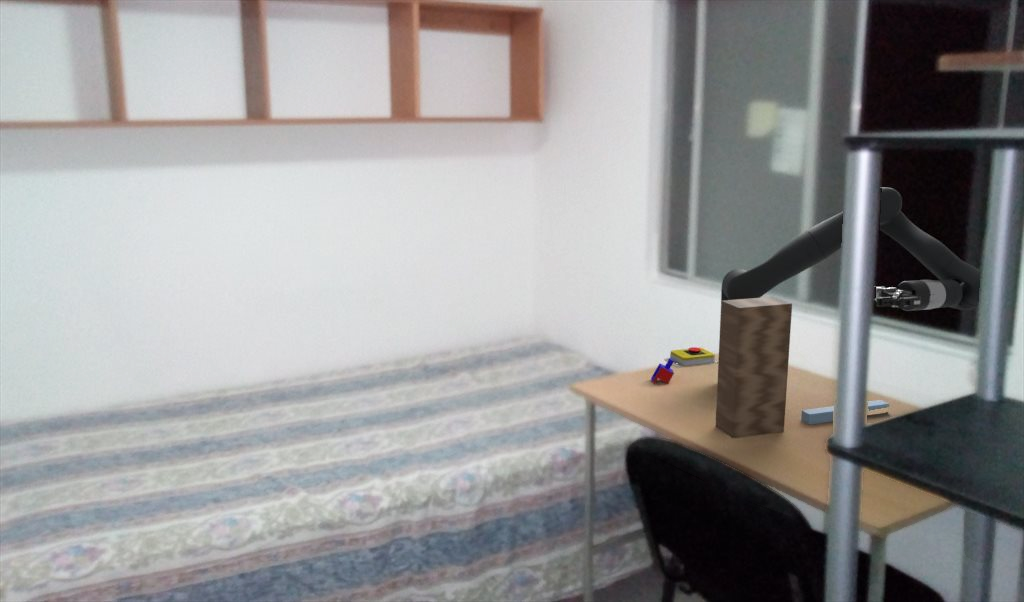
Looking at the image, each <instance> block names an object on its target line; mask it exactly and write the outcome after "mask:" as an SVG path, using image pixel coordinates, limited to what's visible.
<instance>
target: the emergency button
mask: <svg viewBox="0 0 1024 602" xmlns="http://www.w3.org/2000/svg"><path fill="white" fill-rule="evenodd" d="M669 355H670V356H669V357H668V358H663V360H664V361H665V362H666V363H667V362H668V360H669V358H670V359H672V360H674V362H673V365H672V366H674V367H676V368H684V366H687V367H693V365H695V366H702V365H701V364H704V365H712V364H718V363H717V362H718V361H719V360H716V354H715V353H713V352H711V351H709V350H707V349H705V348H704V347H695V346H694V347H693V346H692V347H689V348H682V349H674V350H670V354H669ZM676 363H678V364H676ZM711 363H712V364H711Z"/></svg>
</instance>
